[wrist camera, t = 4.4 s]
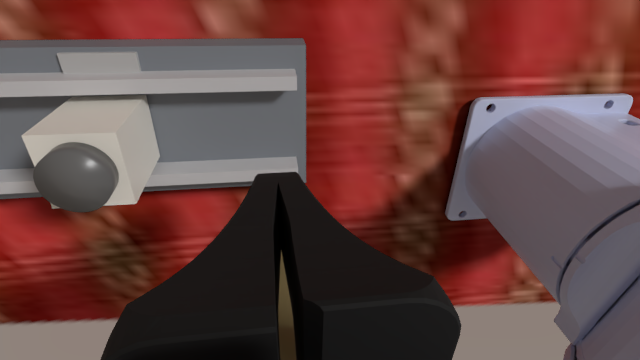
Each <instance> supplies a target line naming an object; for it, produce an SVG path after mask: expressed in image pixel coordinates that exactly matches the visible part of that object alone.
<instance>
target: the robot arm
mask: <svg viewBox="0 0 640 360" xmlns="http://www.w3.org/2000/svg"><path fill="white" fill-rule="evenodd" d="M607 101H608V102H607ZM606 102H607V104H606V105H605V103H606ZM632 103H633V97H632V96H630V95H628V94H587V95H550V96H513V97H481V98H477V99H475V100H474V101H473V102H472V104H471V106H470V110H469V114H468V118H467V122H466V127H465V131H464V135H463V139H462V144H461V148H460V152H459V156H458V160H457V165H456V169H455V173H454V177H453V182H452V186H451V190H450V194H449V198H448V203H447V207H446V211H445V215H446V216H447V218H448V219H449V220H452V221H455V220H470V219H485V218H487V219H488V220H489V221H490V222H491V223H492V225H493V226H494V227H495V228H496V229H497V231H498V232H499V233H500V234H501V235H502V236H503V238H504V239H505V240H506V241H507V242H508V244H509V245H510V246H511V247H512V248H513V250H514V251H515V252H516V253H517V254H518V256H519V257H520V258H521V259H522V260H523V261H524V263H525V264H526V265H527V266H528V267H529V269H530V270H531V271H532V272H533V273H534V275H535V276H536V277H537V278H538V279H539V280H540V282H541V283H542V284H543V285H544V286H545V288H546V289H547V290H548V291H549V292H550V294H551V295H552V296H553V297H554V298H555V299H556V301H557V302H558V303H559V304H560V305H561V307H560V310H559V313H558V315H557V316H556V317H555V319H554V322H555V323H556V324H557V325H558V327H559V328H560V329H561V331H562V332H563V333H564V335H565V336H566V337H567V338H568V340H569V341H570V342H571V344H570V345H569V346H568V348H567V349H566V351H565V354H564V359H563V360H640V119H638V118H636V117H633V116H631V115H629V114H628V112H629V110H630V107H631V105H632ZM489 104H492V106H491V108H490V109H489V110H486V108H487V106H488V105H489ZM604 105H605V106H604ZM461 211H463V212H462V213H461V214H459V213H460V212H461ZM281 251H282V257H283V263H284V268H285V274H286V279H287V285H288V290H289V296H290V301H291V307H292V315H293V324H294V337H295V349H296V360H452V357H453V354H454V351H455V348H456V345H457V342H458V339H459V336H460V330H461V323H460V320H459V316H458V314H457V312H456V310H455V308H454V307H453V305H452V303H451V301H450V300H449V298H448V296H447V295H446V293H445V292H444V290H443V289H442V288H441V286H440V285H439V284H438V282H437V281H436V279H435V278H434V276H431V275H429V274H426V273H424V272H422V271H419V270H417V269H414V268H412V267H409V266H407V265H405V264H402V263H400V262H398V261H396V260H394V259H393V258H391V257H389V256H387V255H385V254H383V253H381V252H379V251H378V250H376V249H374V248H373V247H371V246H370V245H368V244H366V243H365V242H363V241H362V240H360V239H359V238H357V237H356V236H355V235H353V234H352V233H351V232H349V231H348V230H347V229H346V228H344V227H343V226H342V225H341V224H340V223H339V222H338V221H337V220H336V219H334V218H333V217H332V216H331V215H330V214H329V213H328V212H327V210H326V209H325V208H324V207H323V206H322V205H321V204H320V203H319V201H318V200H317V199H316V198H315V197H314V195H313V194H312V193H311V192H310V190H309V189H308V188H307V186H306V185H305V183H304V182H303V180H302V179H301V177H300V175H299V174H298V173H297V172H281V173H261V174H257V175H256V176H255V178H254V181H253V183H252V185H251V187H250V189H249V191H248V193H247V195H246V197H245V199H244V200H243V202H242V203H241V205H240V207H239V208H238V210H237V211H236V213H235V214H234V215H233V217H232V218H231V220H230V221H229V222H228V224H227V225H226V226H225V228H224V229H223V230H222V231H221V232H220V234H219V235H218V236H217V237H216V238H215V239H214V240H213V241H212V242H211V243H210V244H209V245H208V246H207V247H206V248H205V249H204V250H203V251H202V252H201V253H200V254H199V255H198V256H197V257H196V258H195V259H194V260H193V261H191V262H190V263H189V264H188V265H186V266H185V267H184V268H183V269H181V270H180V271H179V272H177V273H176V274H175V275H173V276H172V277H170V278H169V279H168V280H166V281H165V282H163V283H162V284H160V285H159V286H157V287H155V288H154V289H152V290H150V291H149V292H147V293H146V294H144V295H142V296H141V297H139V298H137V299H136V300H134V301H132V302H130V303H129V304H127V305H126V307H125V309H124V310H123V312H122V314H121V316H120V318H119V320H118V321H117V323H116V325H115V327H114V329H113V331H112V333H111V335H110V337H109V339H108V342H107V344H106V347H105V350H104V352H103V355H102V357H101V360H280V343H279V323H278V304H279V284H280V262H281Z"/></svg>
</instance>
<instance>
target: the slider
mask: <svg viewBox="0 0 640 360" xmlns="http://www.w3.org/2000/svg"><path fill="white" fill-rule="evenodd" d="M22 139H23V141H24V143H25V146H26V148H27V150H28V153H29V155H30V157H31V160H32V162H33V164H34V167H35V169H34V172H33V179H34V183H35V186H36V188H37V190H38V191H39V192H40V194H41V195H42V196H43V197H44V198H45V199H46V200H47V201H49V202H50V204H51V206H52V208H53V209H55V208H62V209H64V210H68V211H73V212H90V211H94V210H97V209H99V208H101V207H102V206H108V205H125V204H136V203H137V201H138V199H139V197H140V195H141V193H142V191H143V189H144V187H145V185H146V183H147V181H148V179H149V177H150V175H151V173H152V171H153V169H154V167H155V165H156V163H157V161H158V159H159V157H160V154H159V149H158V145H157V140H156V136H155V132H154V127H153V123H152V118H151V114H150V110H149V105H148V101H147V97H146V95H119V96H77V97H71V98H70V99H69V100H67V101H66V102H65V103H63V104H62V105H61V106H59V107H58V108H57V109H55V110H54V111H53V112H52V113H50V114H49V115H48V116H46V117H45V118H44V119H42V120H41V121H40V122H38V123H37V124H36V125H35V126H33V127H32V128H31V129H29V130H28V131H27V132H25V133H24V134H23V135H22Z"/></svg>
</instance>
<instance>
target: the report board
mask: <svg viewBox="0 0 640 360" xmlns="http://www.w3.org/2000/svg"><path fill="white" fill-rule="evenodd" d="M119 95H146V97H147V101H148V105H149V110H150V114H151V118H152V123H153V127H154V132H155V136H156V140H157V145H158V149H159V154H160V157H159V159H158V161H157V163H156V165H155V167H154V169H153V171H152V173H151V175H150V177H149V179H148V181H147V183H146V185H145V187H144V189H143V191H162V190H181V189H200V188H219V187H238V186H251V185H252V183H253V181H254V178H255V176H256V175H257V174H261V173H281V172H297V173H298V174H299V175H300V177H301V179H302V180H303V182H304V183H306V44H305V42H304V40H303V38H284V39H124V40H0V199H11V198H30V197H43V196H42V195H41V194H40V192H39V191H38V190H37V188H36V186H35V183H34V179H33V172H34V169H35V167H34V164H33V162H32V160H31V157H30V155H29V153H28V150H27V148H26V146H25V143H24V141H23V139H22V135H23V134H24V133H25V132H27V131H28V130H29V129H31V128H32V127H33V126H35V125H36V124H37V123H38V122H40V121H41V120H42V119H44V118H45V117H46V116H48V115H49V114H50V113H52V112H53V111H54V110H55V109H57V108H58V107H59V106H61V105H62V104H63V103H65V102H66V101H67V100H69V99H70V98H71V97H77V96H119ZM143 191H142V192H143Z"/></svg>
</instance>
